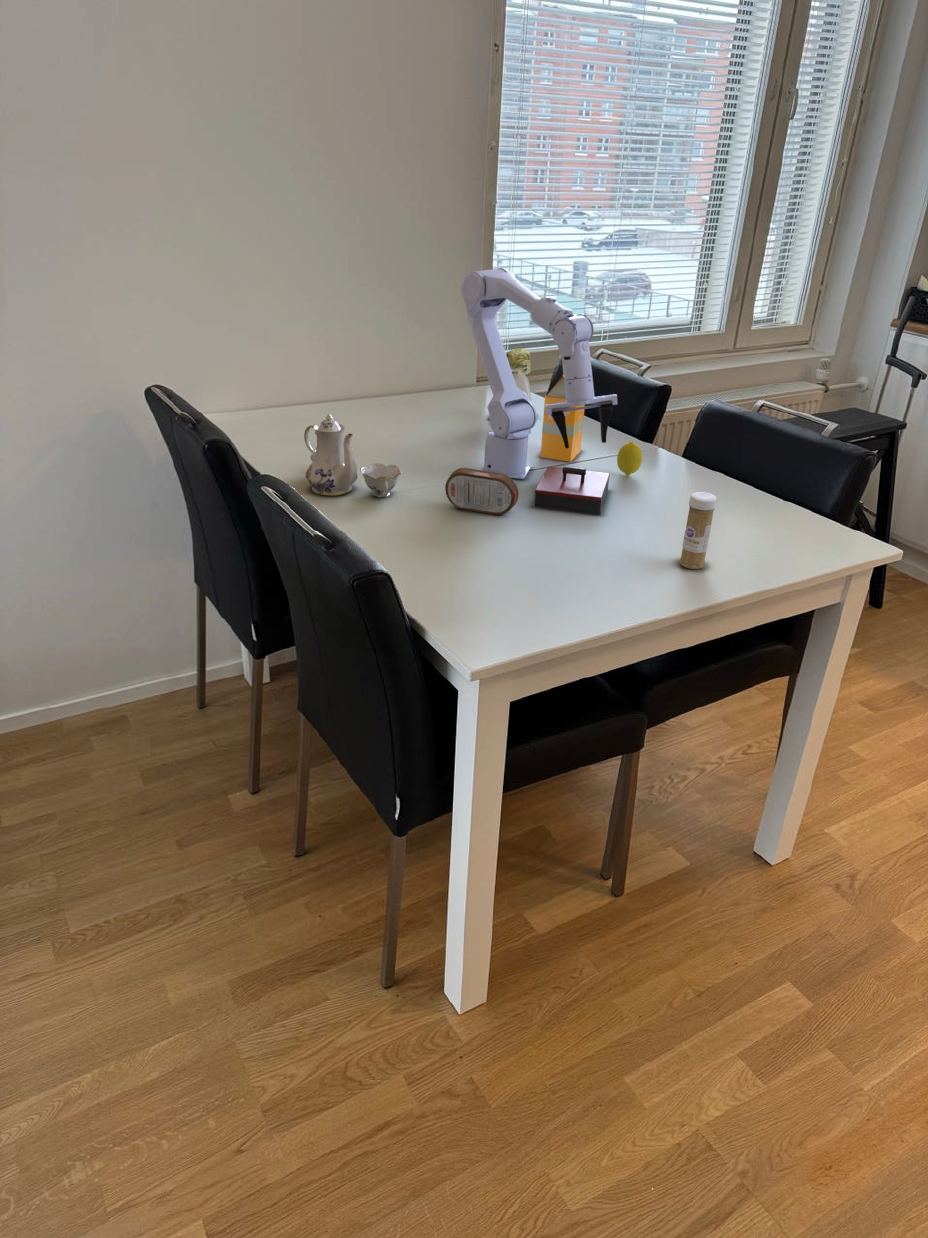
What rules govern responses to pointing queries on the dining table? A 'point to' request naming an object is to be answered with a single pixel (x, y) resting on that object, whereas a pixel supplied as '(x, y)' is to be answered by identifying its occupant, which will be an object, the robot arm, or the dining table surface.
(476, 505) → the tin
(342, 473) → the chinaware
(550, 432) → the orange juice
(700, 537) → the sprinkles bottle
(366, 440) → the dining table surface
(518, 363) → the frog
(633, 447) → the lemon
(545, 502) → the dark grey open tray
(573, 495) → the lid
